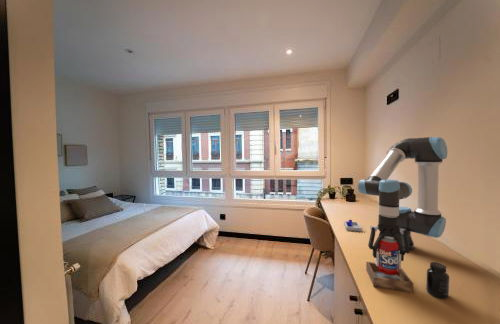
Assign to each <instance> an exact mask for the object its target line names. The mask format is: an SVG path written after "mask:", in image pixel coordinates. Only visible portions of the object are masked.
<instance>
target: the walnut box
mask: <svg viewBox="0 0 500 324" xmlns="http://www.w3.org/2000/svg"><path fill="white" fill-rule="evenodd" d="M365 263H366V264H365V265H366V267H365V268H366V269H365V270H366V273H367V274H368V277H369V279H370V281H371V284H372V286H373V288H377V287H378V288H379V289H385V290H392V291H397V292H402V293H403V292H404V293H411V294H413V293H414V283H413V281H412V280H411V278H410V277H409V276H408V275H407V273H406V272H405V271H404V268H402V267H401V269H399V268H398V274H397V275H392V276H391V275H386V274H384V273H382V272H380V271H379V270H378V268H377V266H376V264H375V261H374V262H373V261H366V262H365Z"/></svg>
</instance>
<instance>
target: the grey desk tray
mask: <svg viewBox="0 0 500 324" xmlns="http://www.w3.org/2000/svg"><path fill="white" fill-rule="evenodd" d="M347 222H349V220H344V221H343V226H344V227H345V228H344V229H345V231H346V232H347V231H348V232H358V233H362V231H363V230H362V229H363V228H362V226H361V224H360V223H359V221H352V224H353V227H348V226H347Z"/></svg>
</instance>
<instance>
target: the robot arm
mask: <svg viewBox="0 0 500 324" xmlns="http://www.w3.org/2000/svg"><path fill="white" fill-rule="evenodd" d="M447 147H448V146H447V143H446V141H445V139H444V138H442V137H440V136H431V137H429V136H428V137H411V138H410V137H409V138H405V139H401V140H399V141H398V142H396V143H395V144H393V145H392V146H390V147H389V148H388V150H387V151H386V156H384V157H383V159H382V160H381V162H379V164H378V165H377V167H376V168H375V169H374V170H373V172H371V174H370V175H369V176H368V177H367V178H364V179H359V181H358V182H357V189H358V192H359V193H360V194H364V195H370V196H378V221H377V222H378V224H377V226H373V225H370V234H369V240H368V245H367V246H368V247H369V250H372V257H373V258H374V263H375V264H376V266H379V251H378V247H379V242H380V241H381V239H383V238H384V237H385V236H386V237H392V238H394V240H395V241H397V243H398V244H399V266H398V268H399V269H401V268H402V262H403V261H404V259H405V258H404V257H405V255H406V254H410V251H413V250H414V249H415V243H414V241H413V237H412V235H411V234H412V233H415V234H420V235H422V236H426V237H430V238H431V237H432V238H440V237H441V236H442V235H443V234H444V231H445V230H446V224H447V220H446V219H447V218H446V217H444V216H442V212H441V210H439V169H440V168H439V165H440V166H441V164H442V163H443V160H445V159H447V157H448V148H447ZM407 159H411V160H413V159H414V163H415V164H417V174H418V175H417V207H416V208H414V209H413V210H412V208H411V207H407V206H400V200H403V199H407V198H409V197H410V196H411V195H412V193H413V188H412V186H411V185H410V184H409V183H407V182H405V181H399V180H397V179H396V180H395V179H389V178H390V177H391V175H392V174H393V172H394V171H395V170H396V168H397V167H398V165H399V164H400V163H401V162H404V161H405V160H407ZM377 231H379V233H378V236H377V238H376V239H375V237H376V233H377Z"/></svg>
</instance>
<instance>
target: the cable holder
mask: <svg viewBox="0 0 500 324" xmlns="http://www.w3.org/2000/svg"><path fill="white" fill-rule="evenodd" d="M348 221H349V222H347V226H348V227H353V224H352V222H353V220H352V219H348Z"/></svg>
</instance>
